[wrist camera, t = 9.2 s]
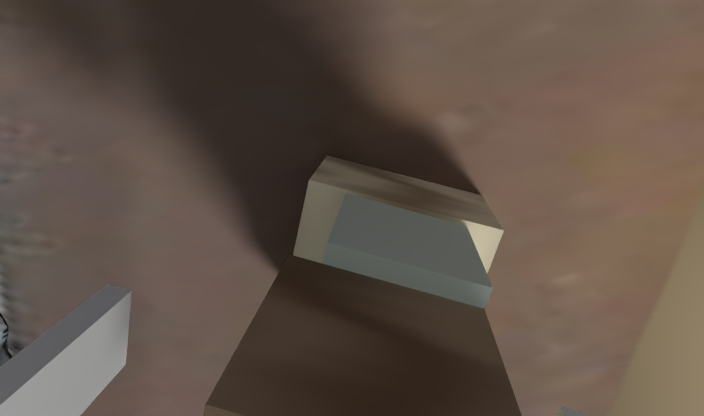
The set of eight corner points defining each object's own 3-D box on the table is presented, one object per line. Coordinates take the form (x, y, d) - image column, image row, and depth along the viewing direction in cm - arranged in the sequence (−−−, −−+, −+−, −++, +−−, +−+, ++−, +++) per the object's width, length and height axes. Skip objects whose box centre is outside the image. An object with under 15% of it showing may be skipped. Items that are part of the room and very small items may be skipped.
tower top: (303, 352, 20) (275, 442, 15) (346, 192, 17) (327, 242, 13) (408, 381, 20) (412, 481, 15) (466, 226, 17) (493, 288, 13)
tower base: (297, 288, 25) (274, 342, 20) (327, 154, 22) (308, 179, 17) (434, 324, 25) (442, 387, 20) (480, 193, 22) (504, 230, 17)
